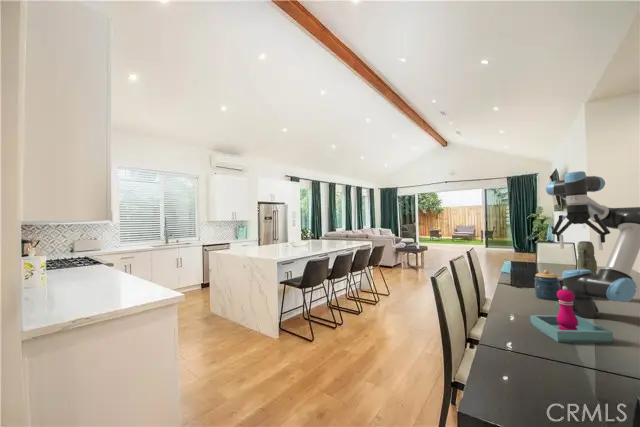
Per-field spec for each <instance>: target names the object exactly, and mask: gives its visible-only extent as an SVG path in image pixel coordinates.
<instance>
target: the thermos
mask: <svg viewBox="0 0 640 427" xmlns="http://www.w3.org/2000/svg"><path fill="white" fill-rule="evenodd" d="M594 246H595V245H594V244H593V242H591V241H590V240H589V241H588V240H587V241H586V240H584V241H583V240H582V241H578V242H577V249H576V250H577V255H578V256H577V260H576V263H577V264H576V265H577V270H579V269H584V270H591V272H592V274H597V271H598V263H597V260H596V256H595V247H594ZM593 300H594V301H595V300H600V298H597V297H593Z"/></svg>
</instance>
